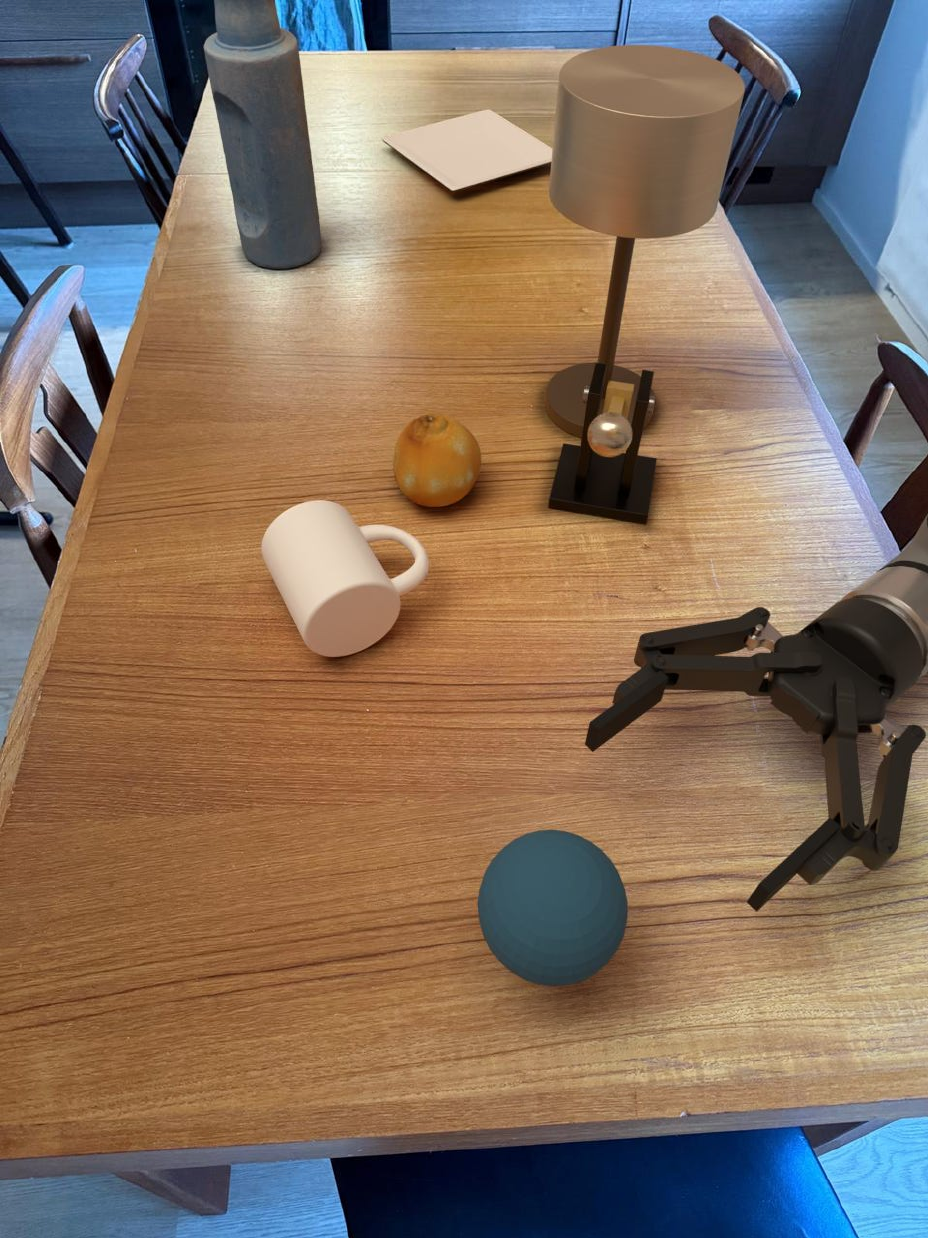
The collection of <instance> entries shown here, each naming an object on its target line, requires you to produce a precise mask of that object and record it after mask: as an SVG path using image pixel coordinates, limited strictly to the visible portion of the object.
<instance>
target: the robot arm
mask: <svg viewBox="0 0 928 1238" xmlns="http://www.w3.org/2000/svg"><path fill="white" fill-rule="evenodd" d="M770 618H771V612H770V611H769V610H768V609H767V608H766V607H762V606H758V607H754V608H753V609H751V610H749V611H748V612H745V613H744V614H741V615H740V616H738V617H734V618H727V619H726V618H725V619H721V620H715V621H709V622H703V623H698V624H692V625H687V626H686V625H684V626H679V627H674V628H668V629H662V630H656V631H650V632H645V633H642V634H641V635H639V638H638V642H637V645H636V649H635V653H634V657H633V664H635V665H636V666H637V667H639V668H640V669H639V670H637V671H635V672H634V673H632V675H630V676H629V677H627V678H626V679H625V680H623V681H622V682H620V683H619V684H618V685H617V687H616V689H615V690H614V693H613V694H614V695H613V698H612V702H611V703H612V705H611V706H609V707H608V708H607V709H606V710H604V711H603V712H601V713H600V714H599V715H597V716H596V717H595V718H593V719H592V720H590V721H589V724H588V728H587V733H586V737H585V740H584V741H585V742H584V745H585V747H587V748H588V749H589V750H590V751H591V752H592V753H594V752H595V751H596V750H598V749H599V748H600V747H602V746H603V745H605V743H607V742H609V741H610V740H611V739H612V738H614V737H615V736H616V735H618V734H619V733H620V732H622V731H623V730H625V729H626V728H628V727H629V725H631V724H632V723H633V722H635V721H637V720H638V719H639V718H640V717H642V716H643V715H645V714H646V713H647V712H649V711H650V710H651V709H653V708H654V707H655V706H656V705H658V704H659V703H661V701H662V700H663V696H664V694H665V690H669V691H701V692H702V691H706V692H707V691H708V692H736V693H737V692H740V693H741V692H743V693H745V694H746V696H748V697H769V698H770V699H771V701H770V704H771V706H773V707H774V708H775V709H777V710H778V711H779V712H781V713H783V714H785V715H786V716H787V717H790V718H791V719H792V721H793V722H794V723H795V725H796V726H798V728H800V729H801V730H802V731H804V733H806V734H809V733H812V734H815V735H818V736H819V743H820V756H821V757H822V758H823V761H824V762H823V763H824V774H825V775H824V776H825V788H826V801H827V802H826V803H827V815H828V818H827V819H826V820H825V821H824V822H823V823H822V824H821V825H820V826H819V827H817V829H816V830H815V831H814V832H813V833H811V834H810V835H809V836H808V837H807V838H806V839H805V840H804V841H803V842H802V843H801V844H800V845H799V846H798V847H797V848H796V849H794V850H793V851H792V852H790V854H789V855H787V857H785V859H784V860H782V861H781V862H780V863H779V864H777V866H776V867H775V868H774V869H773V870H771V872H769V874H767V875H766V876H765V877H764V878H763V879H762V880H761V881H759V883H758V884H757V886H756V887H755V888H754V890H753V892H752V893H751V894H750V896H749V898H747V901H746V903H747V904H748V905H749V907H750V908H752V910H754V912H756V913H758V911H760V910H761V908H762V907H764V906H766V904H767V903H768V902H769V901H770V900H772V898H773V897H774V896H775V895H777V893H779V891H780V890H782V889H783V888H784V887H785V886H786V885H787V884H788V883H789V882H790V881H791V880H792V879H793V878H794V877H795V876H796V875H798V876H799V877H800V878H801V879H802V880H803V881H804V882H805V883H807V885H809V886H812V885H815V884H818V883H819V882H820V881H822V879H823V878H824V877H825V876H826V875H827V874H828V873H829V872H830V871H832V869H833V868H835V867H836V865H838V863H840V862H841V861H842V860H843V859H844V858H848V857H849V858H850V857H851V858H855V859H857V860H859V861H861V862H862V864H863V866H864V867H865V868H866V869H868V870H870V871H874V872H876V871H879V870H881V869H882V868H883V867H884V866H885V864H887V862H888V861H889V860H890V859H891V858H893V856H894V854H896V852H897V851H898V849H899V845H900V838H901V837H900V836H901V830H902V824H903V817H904V812H905V806H906V799H907V792H908V785H909V780H910V775H911V774H910V773H911V767H912V761H913V755H914V754H915V752H916V751H917V749H918V748H919V747H920V745H922V743H923V741H924V740H925V739H926V737H927V734H926V731H925V729H924V728H923V727H921V726H920V725H918V724H909V725H907V726H906V727H904V726H903V725H901V724H899V723H898V722H897V721H895V720H893V719H891V718H890V717H888V716H887V709H888V708H889V707H890V706H892V704H894V703H895V702H896V701H898V699H900V697H901V696H903V695H904V694H905V693H907V691H909V689H911V688H912V687H913V686H914V685H915V684H916V683H917V682H918V680H919V679H920V678H922V677H924V676H925V675H927V674H928V513H927V514H926V516H925V518H924V520H923V522H921V525H920V527H919V528H918V530H917V531H916V533H915V535H914V536H913V538H912V540H911V541H910V543H908V545H907V546H906V547H905V548H904V549H903V550H902V551H901V552H900V553H899V554H897V555H896V556H895V557H894V558H892V559H891V560H890V561H889V562H887V563H886V564H885V565H883V567H881V568H879V570H877V571H876V572H875V573H873V574H871V576H869V577H868V578H867V579H866V580H864V581H863V582H862V583H860V584H859V585H857V586H856V587H855V588H854V589H852V590H851V591H850V592H848V593H847V594H845V596H843V597H842V598H841V599H840V600H839V601H837V602H835V603H834V604H833V605H832V606H830V607H829V608H828V609H826V610H825V611H824V612H822V613H821V614H820V615H819V616H817V617H816V618H815V619H813V621H810V622H809V623H808V624H807V625H806V626H805V627H803V628H802V629H801V630H800V631H798V632H796V633H794V634H788V635H783V634H782V633H781V632H780V631H779V630H777V628H775V626H773V624H771V623H770V622H769V620H770ZM759 648H766V649H767V650H769V651H770V652H757V653H755V654H753V655H750V656H741V655H740V656H739V655H738V656H737V655H725V654H732V653H735V652H739V651H741V650H744V649H746V650H748V651H750V652H753V651H755V650H756V649H759ZM767 674H768V675H767ZM766 675H767V677H766ZM871 733H874V734H875V735H876V737H877V739H878V742H877V749H878V751H877V752H878V756H880V757H881V758H882V760H881V761H880V763H879V766H878V768H877V772H876V778H875V783H874V789H873V794H872V795H873V796H872V800H871V805H870V811H869V816H868V821H867V824H866V825H865V815H864V806H863V805H864V804H863V795H862V794H863V793H862V786H861V784H862V783H861V776H860V765H859V756H858V746H857V741H858V736H859V735H867V734H871Z"/></svg>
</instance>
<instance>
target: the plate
mask: <svg viewBox="0 0 928 1238" xmlns="http://www.w3.org/2000/svg"><path fill="white" fill-rule="evenodd" d="M381 141H382V142H383V143H384V144H386V145H387V146H388V147H390V148H391V149H392V150H393V151H395V152H397V153H398V154H399V155H400V156H402V157H403V158H405V160H407V161H409V162H410V163H412V164H413V165H414V166H416V167H417V168H418V169H420V170H421V171H422V172H423V173H424V174H427V175H428V176H429V177H431V178H432V179H433V180H434V181H436V182H437V183H439V184H440V185H442V186H443V187H444V188H445V189H447V190H448V191H449V192H451V193H458V192H460V191H464V190H468V189H471V188H474V187H479V186H482V185H484V184H488V183H491V182H494V181H498V180H501V179H504V178H505V179H506V178H507V177H511V176H514V175H518V174H521V173H525V172H528V171H531V170H535V169H538V168H541V167H545V166H548V165H551V161H552V150H553V147H551V146H549V145H547V144H546V143H544V142H542V141H541V140H540V139H537V138H536V137H535V136H533V135H531V134H530V133H528V132H526V131H525V130H523V129H522V128H520V127H519V126H517V125H515V124H514V123H513V122H511V121H509V120H507V119H505V118H504V117H502V116H501V115H499V114H498V113H496V112H495V111H492V110H491V109H488V108H487V109H483V110H480V111H475V112H471V113H468V114H464V115H461V116H457V117H453V118H449V119H445V120H441V121H438V122H433V123H430V124H425V125H422V126H419V127H414V128H410V129H407V130H403V131H400V132H395V133H392V134H388V135H385V136H383V137H381Z"/></svg>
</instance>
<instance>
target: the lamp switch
mask: <svg viewBox="0 0 928 1238" xmlns="http://www.w3.org/2000/svg"><path fill="white" fill-rule="evenodd" d="M633 390H634V384H628V383H621V382H615V381H609V382H608V386H607V390H606V396H605V401H604V407H603V412H602V414H601V415H599V416H597V417H596V418H595V419H594V420H593V421H592V422H591V424H590V426H589V429H588V434H587V436H588V442H589V445H590V447H591V448H592V450H593V451H594V452H595V453H597V454H598V455H600V456H603V457H616V456H618V455H620V454H622V453H625V452H626V449H627V448H628V447H629V445H630V443H631V440H632V428H631V425H630V423H629V422H628V420H627V419H628V416H629V411H630V406H631V401H632V396H633Z"/></svg>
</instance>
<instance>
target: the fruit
mask: <svg viewBox="0 0 928 1238" xmlns="http://www.w3.org/2000/svg"><path fill="white" fill-rule="evenodd" d="M481 465H482V452H481V447H480V444H479V443H478V440H477V439H476V437H475V436H474V435H473V433H472V432H471V431H470V430H469V429H468V428H467V427H466V426H465V425H464V424H463V423H461V422H460V421H459V420H457V419H456V418H454V417H452V416H450V415H447V414H446V415H445V414H442V413H428V414H425V415H421V416H420V417H419V416H418V417H417V418H415V419H413V420H411V421H410V422H409V423H408V424H407V425H406V427H405V428H404V429H403V430H402V431H401V432H400V434H399V436H398V438H397V440H396V442H395V445H394V449H393V455H392V469H393V476H394V479H395V482H396V484H397V487H398V489H399V490H400V492H401V493H402V494H403V496H405V497H406V498H407V499H408V500H409V501H411V502H413V503H415V504H418V505H420V506H423V507H429V508H441V507H447V506H450V505H452V504H455V503H457V502H459V501H460V500H462V499H463V498H465V496H467V495H468V494H469V493H470V491H471V490H472V489H473V487H474V486H475V484H476V482H477V480H478V477H479V475H480V473H481Z"/></svg>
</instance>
